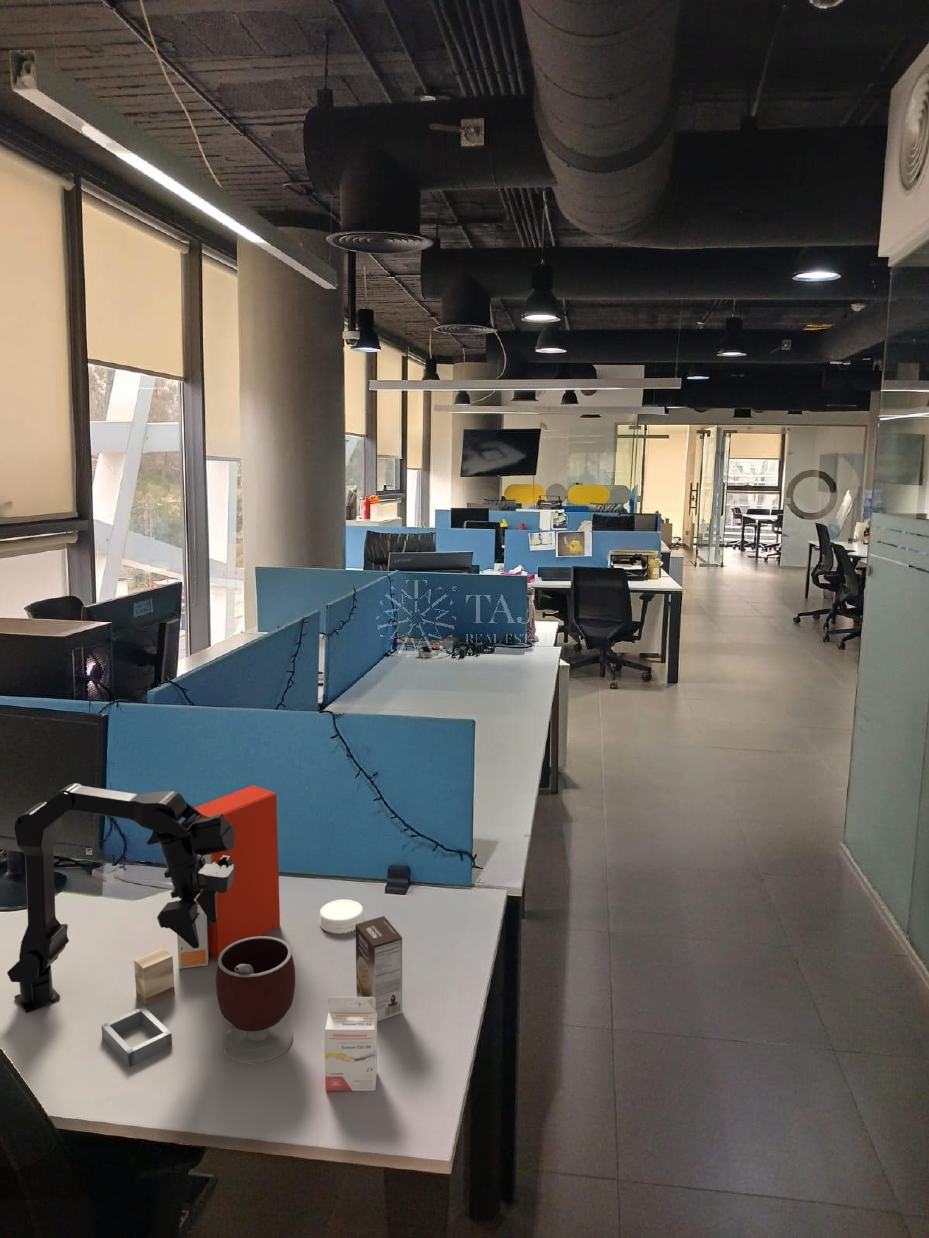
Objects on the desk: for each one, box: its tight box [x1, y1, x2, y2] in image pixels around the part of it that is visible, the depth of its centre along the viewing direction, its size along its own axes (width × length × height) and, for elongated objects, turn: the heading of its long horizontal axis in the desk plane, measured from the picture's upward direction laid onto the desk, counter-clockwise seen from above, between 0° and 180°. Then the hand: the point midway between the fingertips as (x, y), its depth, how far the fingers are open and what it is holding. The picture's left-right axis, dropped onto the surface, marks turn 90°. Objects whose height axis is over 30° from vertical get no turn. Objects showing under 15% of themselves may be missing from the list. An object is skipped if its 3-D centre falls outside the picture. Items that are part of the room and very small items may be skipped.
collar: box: [101, 1005, 173, 1067], centre depth 159 cm, size 11×8×2 cm
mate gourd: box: [215, 935, 296, 1065], centre depth 157 cm, size 16×14×20 cm
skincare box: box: [176, 905, 209, 970], centre depth 183 cm, size 6×4×12 cm
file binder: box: [193, 785, 281, 961], centre depth 191 cm, size 8×17×32 cm, turn 145°
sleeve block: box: [133, 948, 176, 1007], centre depth 172 cm, size 4×6×8 cm, turn 136°
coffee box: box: [355, 915, 403, 1022], centre depth 168 cm, size 9×6×16 cm
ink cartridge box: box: [324, 996, 378, 1092], centre depth 148 cm, size 9×5×15 cm, turn 92°
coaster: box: [319, 899, 365, 935], centre depth 200 cm, size 10×10×4 cm
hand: (205, 934), depth 166 cm, fingers open, 9 cm apart
